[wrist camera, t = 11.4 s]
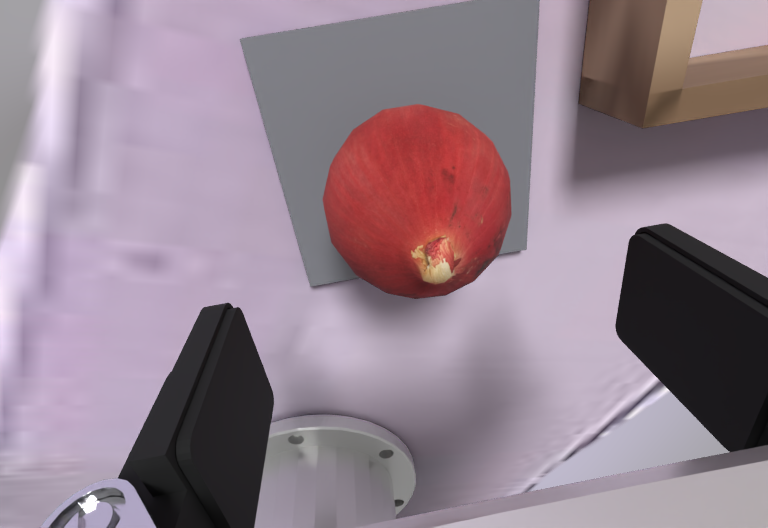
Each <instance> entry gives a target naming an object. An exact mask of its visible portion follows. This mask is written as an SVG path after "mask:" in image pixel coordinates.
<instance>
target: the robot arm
mask: <svg viewBox="0 0 768 528" xmlns="http://www.w3.org/2000/svg"><path fill="white" fill-rule="evenodd" d="M616 332H617V335H618V337H619V338H620V339H621V341H622V342H623V343H624V344H625V345H626V346H627V347H628V348H629V349H630V350H631V351H632V352H633V353H634V354H635V355H636V356H637V357H638V358H639V359H640V360H641V361H642V362H643V363H644V365H645V366H646V367H647V368H648V369H649V370H650V371H651V372H652V373H653V374H654V375H655V376H656V377H657V378H658V379H659V380H660V381H661V382H662V383H663V384H664V385H665V386H666V387H667V388H668V389H669V390H670V391H671V392H672V394H673V395H675V397H676V398H677V399H678V400H679V401H680V402H681V403H682V404H683V405H684V406H685V407H686V408H687V409H688V410H689V411H690V412H691V413H692V414H693V415H694V416H695V417H696V418H697V419H698V420H699V422H701V424H702V425H703V426H704V427H705V428H706V429H707V430H708V431H709V432H710V433H711V434H712V435H713V436H714V437H715V438H716V439H717V440H718V441H719V442H720V443H721V444H722V445H723V446H724V447H725V448H726V449H727V450H728V451H730V452H729V453H724V454H720V455H714V456H709V457H703V458H698V459H693V460H688V461H683V462H678V463H672V464H667V465H662V466H657V467H652V468H647V469H642V470H637V471H632V472H627V473H622V474H617V475H611V476H606V477H602V478H597V479H591V480H587V481H581V482H576V483H571V484H566V485H561V486H556V487H551V488H546V489H541V490H536V491H531V492H526V493H521V494H516V495H511V496H506V497H501V498H496V499H491V500H486V501H481V502H476V503H472V504H467V505H462V506H457V507H452V508H447V509H442V510H437V511H432V512H428V513H423V514H418V515H413V516H408V517H403V518H398V519H397V518H396V515H397V514H398V513H399V512H400V511H401V510H402V509H403V508H404V507H405V506H406V505H407V503H408V502H409V500H410V499H411V497H412V495H413V492H414V489H415V486H416V472H415V467H414V462H413V457H412V455H411V453H410V451H409V450H408V448H407V446H406V445H405V444H404V443H403V442H402V441H401V440H400V439H399V438H398V437H397V436H396V435H394V434H393V433H391V432H390V431H388V430H387V429H385V428H383V427H381V426H378V425H376V424H374V423H371V422H369V421H365V420H361V419H357V418H354V417H349V416H340V415H331V414H327V415H305V416H298V417H290V418H286V419H283V420H279V421H276V422H272V423H271V419H272V412H273V406H274V398H273V392H272V388H271V386H270V383H269V381H268V378H267V375H266V373H265V370H264V367H263V365H262V362H261V360H260V357H259V354H258V352H257V349H256V346H255V344H254V341H253V339H252V336H251V333H250V331H249V328H248V326H247V323H246V320H245V318H244V315H243V313H242V310H241V309H240V308H239V307H237V308H233V306H232V305H231V304H230V303H225V304H219V305H214V306H208V307H204V308H203V309H202V310H201V312H200V314H199V316H198V318H197V320H196V322H195V324H194V326H193V328H192V331H191V333H190V335H189V337H188V339H187V341H186V343H185V345H184V347H183V349H182V351H181V353H180V355H179V358H178V360H177V362H176V364H175V366H174V368H173V370H172V372H170V374H169V375H168V377H167V378H166V380H165V382H164V385H163V387H162V389H161V391H160V393H159V395H158V397H157V399H156V401H155V403H154V405H153V407H152V409H151V411H150V413H149V415H148V417H147V419H146V421H145V423H144V426H143V428H142V430H141V432H140V434H139V436H138V438H137V440H136V442H135V444H134V446H133V448H132V450H131V452H130V454H129V456H128V458H127V460H126V462H125V464H124V467H123V469H122V471H121V473H120V475H119V477H118V478H114V479H106V480H102V481H99V482H96V483H94V484H91V485H89V486H87V487H85V488H83V489H82V490H80V491H78V492H76V493H75V494H73V495H72V496H71V497H69V498H68V499H67V500H66V501H64V502H63V503H62V504H61V505H59V506H58V507H57V508H56V509H55V510H54V511H53V512H52V514H51V515H50V516H49V517H48V518H47V519H46V520H45V521H44V523H43V524H42V526H41V527H40V528H768V278H767V277H765V276H763V275H762V274H760V273H758V272H756V271H754V270H752V269H751V268H749V267H747V266H745V265H743V264H741V263H740V262H738V261H736V260H734V259H732V258H730V257H729V256H727V255H725V254H723V253H721V252H719V251H718V250H716V249H714V248H712V247H710V246H708V245H707V244H705V243H703V242H701V241H699V240H697V239H695V238H694V237H692V236H690V235H688V234H686V233H684V232H683V231H681V230H679V229H677V228H675V227H673V226H672V225H669V224H659V225H654V226H648V227H643V228H640V229H638V230H637V232H636V233H635V235H633V236H632V237H631V238H630V240H629V245H628V251H627V257H626V263H625V269H624V276H623V282H622V288H621V294H620V300H619V306H618V313H617V319H616Z"/></svg>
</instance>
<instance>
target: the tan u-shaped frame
mask: <svg viewBox="0 0 768 528" xmlns="http://www.w3.org/2000/svg"><path fill="white" fill-rule="evenodd" d="M701 5H702V0H590V1H589V11H588V20H587V29H586V39H585V48H584V57H583V67H582V76H581V85H580V95H579V104H581V105H583V106H586V107H589V108H591V109H594V110H596V111H599V112H602V113H604V114H607V115H609V116H612V117H614V118H617V119H620V120H622V121H625V122H627V123H630V124H633V125H635V126H638V127H640V128H648V127H654V126H660V125H666V124H672V123H678V122H684V121H690V120H696V119H702V118H708V117H714V116H719V115H725V114H731V113H737V112H743V111H749V110H755V109H761V108H767V107H768V45H765V46H759V47H753V48H747V49H741V50H735V51H729V52H723V53H717V54H711V55H705V56H699V57H693V58H689V57H690V53H691V48H692V44H693V40H694V35H695V31H696V26H697V22H698V18H699V13H700V9H701Z"/></svg>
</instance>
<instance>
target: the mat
mask: <svg viewBox="0 0 768 528" xmlns="http://www.w3.org/2000/svg"><path fill="white" fill-rule="evenodd" d="M539 1H540V0H473V1H467V2H461V3H455V4H449V5H443V6H436V7H430V8H424V9H418V10H412V11H406V12H400V13H394V14H388V15H382V16H376V17H369V18H363V19H357V20H351V21H345V22H339V23H333V24H327V25H321V26H315V27H308V28H302V29H296V30H290V31H284V32H278V33H272V34H266V35H260V36H254V37H247V38H242V39H240V42H241V45H242V49H243V52H244V56H245V59H246V63H247V66H248V70H249V73H250V77H251V80H252V84H253V87H254V91H255V94H256V98H257V101H258V105H259V108H260V112H261V115H262V119H263V122H264V126H265V129H266V133H267V136H268V140H269V143H270V147H271V150H272V154H273V157H274V161H275V164H276V168H277V171H278V175H279V178H280V182H281V185H282V189H283V192H284V196H285V199H286V203H287V206H288V210H289V213H290V217H291V220H292V224H293V227H294V231H295V234H296V238H297V241H298V245H299V248H300V252H301V255H302V259H303V262H304V266H305V269H306V273H307V276H308V280H309V283H310V286H316V285H322V284H328V283H334V282H340V281H346V280H351V279H357V278H360V277H358V276H357V275H356V274H355V273H354V272H353V270H352V269H351V268H350V266H349V265H348V264H347V263H346V261H345V260H344V259H343V257H342V256H341V255H340V253H339V252H338V251H337V250H336V248H335V247H334V245H333V244H332V243H331V238H330V234H329V229H328V224H327V220H326V215H325V210H324V205H323V200H322V199H323V195H324V190H325V186H326V181H327V177H328V173H329V168H330V165H331V163H332V161H333V159H334V157H335V155H336V154H337V153H338V151H339V150H340V148H341V147H342V145H343V144H344V142H345V141H346V139H347V138H348V136H349V135H350V133H351V132H352V130H353V129H355V128H356V127H358V126H359V125H361V124H362V123H364V122H365V121H367V120H368V119H370V118H371V117H373V116H374V115H376V114H377V113H379V112H380V111H382V110H384V109H390V108H396V107H402V106H409V105H415V104H421V105H425V106H429V107H433V108H437V109H441V110H445V111H449V112H453V113H457V114H460V115H461V116H462V117H463V118H465V119H466V120H467V121H469V122H470V123H471V124H473V125H474V126H475V127H476V128H478V129H479V130H480V131H482V132H483V133H484V134H485V135H486V136H487V137H488V138H489V139H490V140H491V141H492V142H493V143H494V145H495V147H496V149H497V151H498V153H499V155H500V157H501V159H502V161H503V163H504V165H505V167H506V169H507V171H508V173H509V178H510V188H511V212H512V215H511V219H510V222H509V225H508V228H507V231H506V234H505V237H504V241H503V244H502V247H501V250H500V253H499V254H504V253H510V252H516V251H521V250H526V249H527V229H528V210H529V191H530V172H531V153H532V134H533V115H534V96H535V77H536V58H537V39H538V20H539Z"/></svg>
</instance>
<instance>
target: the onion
mask: <svg viewBox="0 0 768 528" xmlns="http://www.w3.org/2000/svg"><path fill="white" fill-rule="evenodd" d="M322 200H323V205H324V210H325V215H326V220H327V224H328V229H329V234H330V238H331V243H332V244H333V245H334V247H335V248H336V250H337V251H338V252H339V253H340V255H341V256H342V257H343V259H344V260H345V261H346V263H347V264H348V265H349V266H350V268H351V269H352V270H353V272H354V273H355V274H356V275H357V276H358V277H360V278H362V279H364V280H365V281H367V282H369V283H370V284H372V285H374V286H375V287H377V288H379V289H380V290H382V291H384V292H386V293H389V294H394V295H399V296H404V297H409V298H414V299H418V298H427V297H435V296H444V295H447V294H449V293H451V292H453V291H455V290H457V289H459V288H461V287H463V286H465V285H467V284H469V283H471V282H473V281H475V280H476V278H477V277H478V276H479V275H480V274H481V273H482V272H483V271H484V270H485V269H486V268H487V267H488V266H489V264H490V263H491V262H492V261H493V260H494V259H495V258H496V257H497V256H498V255H499V253H500V250H501V247H502V244H503V241H504V237H505V234H506V231H507V228H508V225H509V222H510V219H511V215H512V212H511V188H510V178H509V173H508V171H507V169H506V167H505V165H504V163H503V161H502V159H501V157H500V155H499V153H498V151H497V149H496V147H495V145H494V143H493V142H492V141H491V140H490V139H489V138H488V137H487V136H486V135H485V134H484V133H483V132H482V131H480V130H479V129H478V128H476V127H475V126H474V125H473V124H471V123H470V122H469V121H467V120H466V119H465V118H463V117H462V116H461V115H460V114H457V113H453V112H449V111H445V110H441V109H437V108H433V107H429V106H425V105H421V104H415V105H409V106H402V107H396V108H390V109H384V110H382V111H380V112H379V113H377V114H376V115H374V116H373V117H371V118H370V119H368V120H367V121H365V122H364V123H362V124H361V125H359V126H358V127H356V128H355V129H353V130H352V132H351V133H350V135H349V136H348V138H347V139H346V141H345V142H344V144H343V145H342V147H341V148H340V150H339V151H338V153H337V154H336V155H335V157H334V159H333V161H332V163H331V165H330V168H329V173H328V177H327V181H326V186H325V190H324V195H323V199H322Z"/></svg>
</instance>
